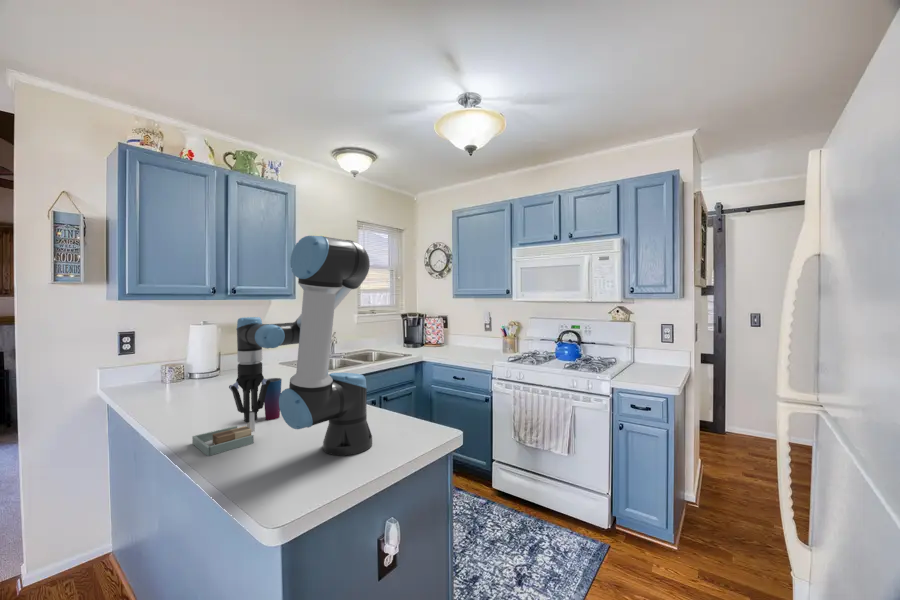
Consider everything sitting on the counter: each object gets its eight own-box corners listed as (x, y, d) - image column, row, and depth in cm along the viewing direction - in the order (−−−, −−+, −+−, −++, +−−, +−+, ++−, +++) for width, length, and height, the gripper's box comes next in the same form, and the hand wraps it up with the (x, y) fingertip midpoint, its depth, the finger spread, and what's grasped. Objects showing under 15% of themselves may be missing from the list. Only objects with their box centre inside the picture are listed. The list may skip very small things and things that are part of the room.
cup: (274, 421, 146) (274, 382, 146) (258, 420, 147) (258, 381, 147) (285, 415, 153) (285, 378, 152) (270, 414, 154) (270, 377, 154)
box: (253, 443, 124) (253, 435, 124) (207, 456, 114) (207, 447, 114) (236, 432, 134) (236, 425, 134) (192, 443, 124) (192, 436, 124)
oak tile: (251, 438, 129) (251, 429, 128) (235, 442, 125) (235, 433, 125) (245, 434, 132) (245, 425, 132) (229, 438, 128) (229, 429, 128)
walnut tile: (235, 442, 125) (234, 433, 125) (218, 447, 121) (217, 437, 121) (229, 439, 128) (229, 430, 128) (212, 443, 125) (212, 434, 124)
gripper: (264, 358, 138) (265, 423, 138) (225, 363, 128) (226, 433, 128) (274, 361, 133) (274, 428, 133) (233, 366, 123) (234, 439, 123)
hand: (250, 430), depth 131 cm, fingers closed
